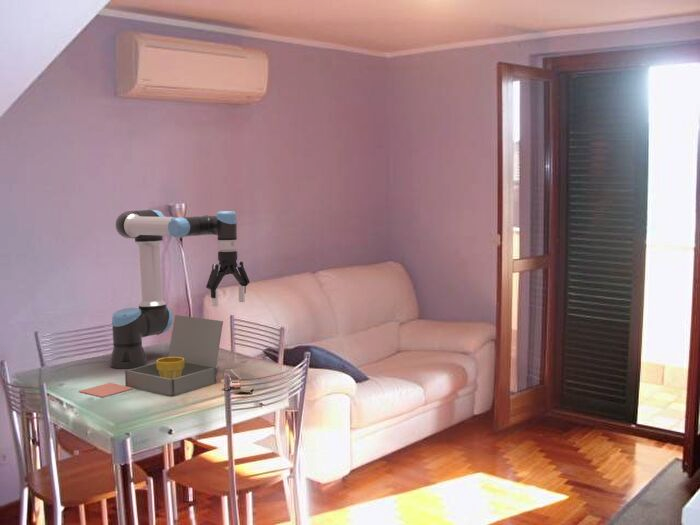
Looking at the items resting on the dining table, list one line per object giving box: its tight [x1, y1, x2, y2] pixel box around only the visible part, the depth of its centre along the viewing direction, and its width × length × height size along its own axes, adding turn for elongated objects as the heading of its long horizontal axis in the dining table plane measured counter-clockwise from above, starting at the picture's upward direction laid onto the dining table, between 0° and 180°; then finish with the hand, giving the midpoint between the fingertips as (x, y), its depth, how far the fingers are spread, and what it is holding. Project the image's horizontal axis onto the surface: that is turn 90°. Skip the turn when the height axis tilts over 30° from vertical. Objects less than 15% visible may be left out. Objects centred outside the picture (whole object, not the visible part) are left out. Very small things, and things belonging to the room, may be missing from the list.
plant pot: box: [155, 356, 184, 379], centre depth 297 cm, size 10×10×10 cm
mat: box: [78, 382, 135, 399], centre depth 291 cm, size 14×14×1 cm
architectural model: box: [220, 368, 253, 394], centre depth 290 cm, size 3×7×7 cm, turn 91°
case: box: [124, 314, 224, 397], centre depth 298 cm, size 26×27×24 cm
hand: (228, 304), depth 309 cm, fingers open, 13 cm apart
